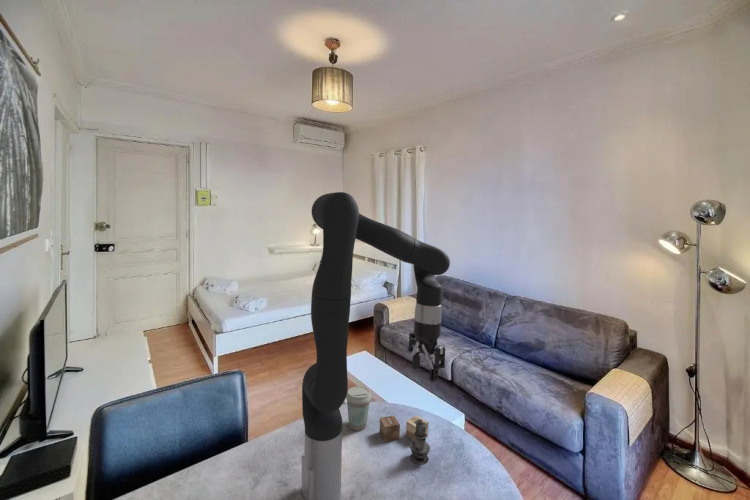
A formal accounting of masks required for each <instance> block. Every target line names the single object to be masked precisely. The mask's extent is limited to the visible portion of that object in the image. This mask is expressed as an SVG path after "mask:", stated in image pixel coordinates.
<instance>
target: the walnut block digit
mask: <svg viewBox="0 0 750 500" xmlns="http://www.w3.org/2000/svg"><path fill="white" fill-rule="evenodd" d="M400 429H401V424H400V422H399V421H398V419H397V418H396V416H395V415H391V416H390V415H389V416H382V417H379V434H380V436H381V438H382V439H383V441H384V443H385V442H391V441H398V440H400V434H401V430H400Z"/></svg>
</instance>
